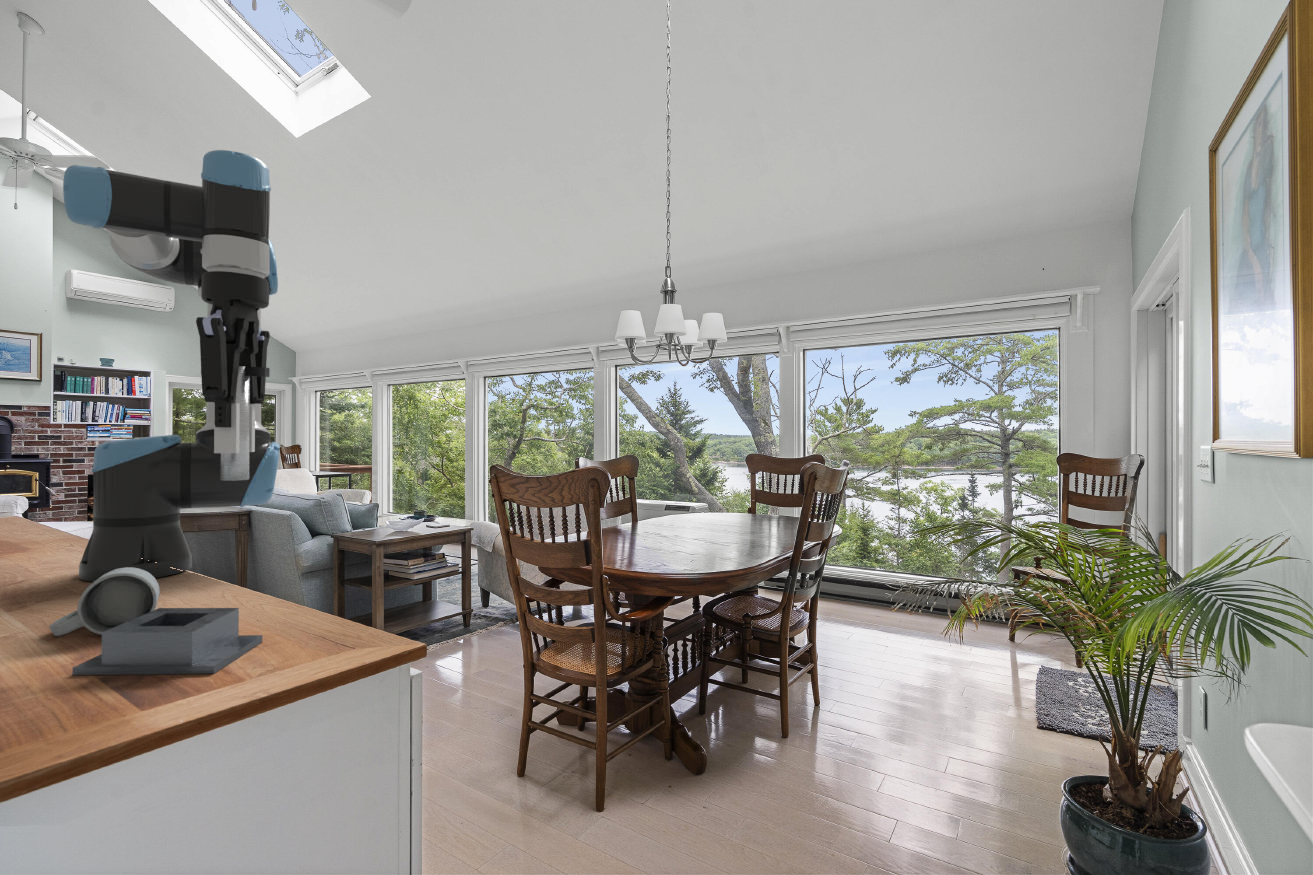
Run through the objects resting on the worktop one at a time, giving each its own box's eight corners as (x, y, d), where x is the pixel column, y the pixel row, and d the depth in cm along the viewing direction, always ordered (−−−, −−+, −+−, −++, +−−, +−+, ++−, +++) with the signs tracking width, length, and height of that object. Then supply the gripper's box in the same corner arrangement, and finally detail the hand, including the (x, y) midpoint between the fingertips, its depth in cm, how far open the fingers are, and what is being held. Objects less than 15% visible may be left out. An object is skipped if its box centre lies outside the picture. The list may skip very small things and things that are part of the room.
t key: (195, 480, 85) (196, 364, 85) (210, 477, 88) (210, 366, 88) (260, 480, 86) (261, 366, 85) (272, 478, 89) (273, 368, 88)
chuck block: (139, 642, 78) (139, 606, 78) (262, 641, 79) (262, 606, 79) (72, 675, 68) (72, 634, 68) (214, 673, 69) (214, 633, 69)
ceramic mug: (161, 614, 89) (160, 558, 89) (157, 630, 82) (156, 570, 82) (57, 627, 83) (55, 568, 83) (43, 646, 76) (42, 582, 76)
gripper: (239, 286, 94) (238, 449, 95) (165, 259, 78) (164, 455, 78) (294, 288, 95) (292, 450, 95) (231, 261, 78) (230, 456, 79)
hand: (235, 452), depth 87 cm, fingers closed on t key, 3 cm apart
